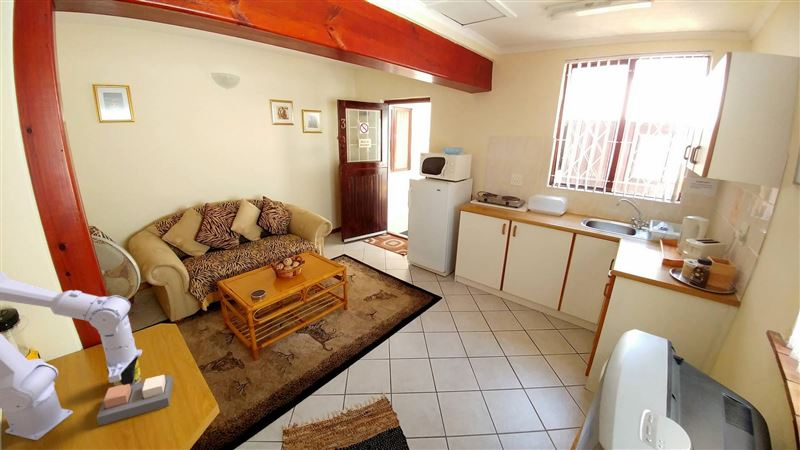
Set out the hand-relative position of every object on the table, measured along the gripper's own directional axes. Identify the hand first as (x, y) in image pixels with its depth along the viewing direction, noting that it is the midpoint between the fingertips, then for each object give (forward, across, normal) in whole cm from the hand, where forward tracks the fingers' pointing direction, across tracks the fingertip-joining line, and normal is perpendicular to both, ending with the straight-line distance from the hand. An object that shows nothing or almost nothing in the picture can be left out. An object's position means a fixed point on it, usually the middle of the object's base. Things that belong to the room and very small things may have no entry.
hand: (128, 382), depth 83 cm
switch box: (+10, +2, -1) cm, 10 cm away
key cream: (+7, +2, -5) cm, 9 cm away
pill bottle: (+10, +11, +4) cm, 15 cm away
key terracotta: (+7, +2, +3) cm, 8 cm away
